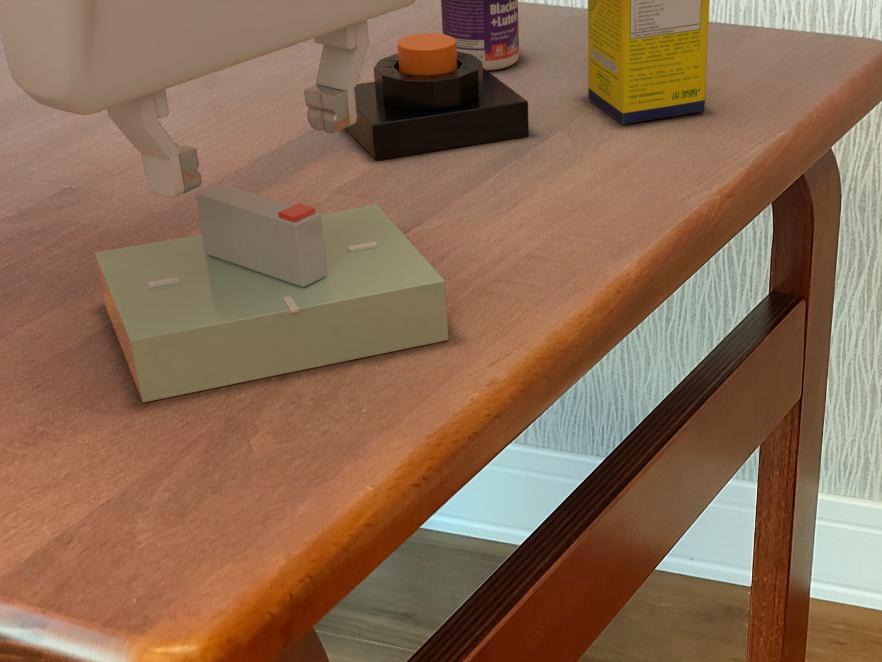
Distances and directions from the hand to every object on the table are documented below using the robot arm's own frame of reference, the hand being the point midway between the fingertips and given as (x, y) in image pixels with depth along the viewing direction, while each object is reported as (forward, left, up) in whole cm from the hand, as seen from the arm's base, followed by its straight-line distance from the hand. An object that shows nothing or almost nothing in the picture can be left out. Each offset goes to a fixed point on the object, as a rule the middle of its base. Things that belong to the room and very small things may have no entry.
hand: (258, 157), depth 62 cm
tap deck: (0, 0, -8) cm, 8 cm away
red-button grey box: (0, 0, -5) cm, 5 cm away
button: (+16, +23, -4) cm, 28 cm away
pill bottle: (+24, +35, -8) cm, 43 cm away
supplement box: (+30, +21, -8) cm, 37 cm away
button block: (+16, +23, -8) cm, 29 cm away
